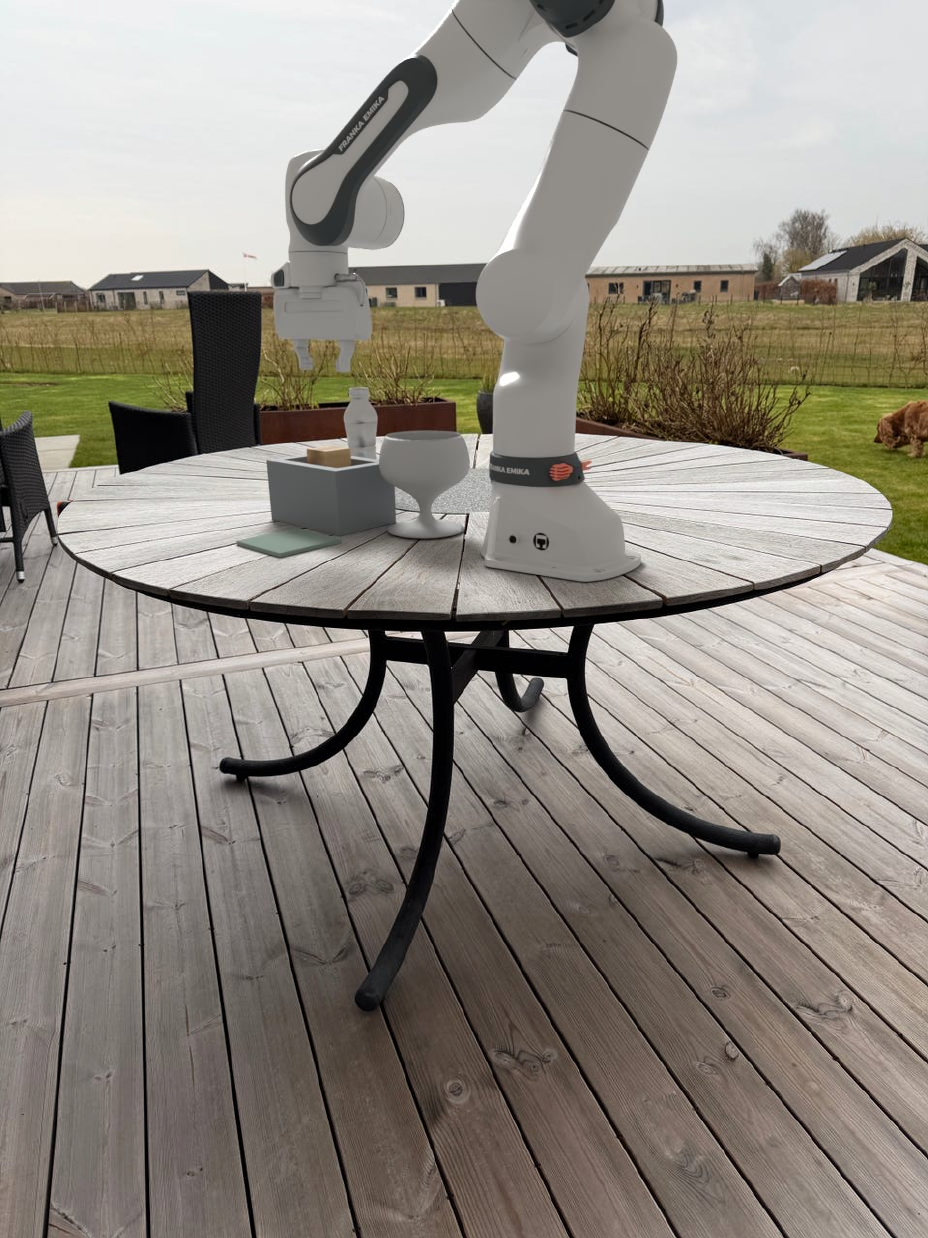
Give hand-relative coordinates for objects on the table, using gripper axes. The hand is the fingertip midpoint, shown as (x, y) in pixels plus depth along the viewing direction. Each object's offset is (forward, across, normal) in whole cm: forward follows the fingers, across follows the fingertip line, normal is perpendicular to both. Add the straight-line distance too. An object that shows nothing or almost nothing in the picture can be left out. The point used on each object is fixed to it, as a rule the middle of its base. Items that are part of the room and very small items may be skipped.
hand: (324, 370), depth 124 cm
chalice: (+24, -17, -5) cm, 30 cm away
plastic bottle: (+24, +14, -19) cm, 34 cm away
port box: (+24, 0, 0) cm, 24 cm away
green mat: (+24, -8, +14) cm, 29 cm away
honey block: (+18, 0, 0) cm, 18 cm away
